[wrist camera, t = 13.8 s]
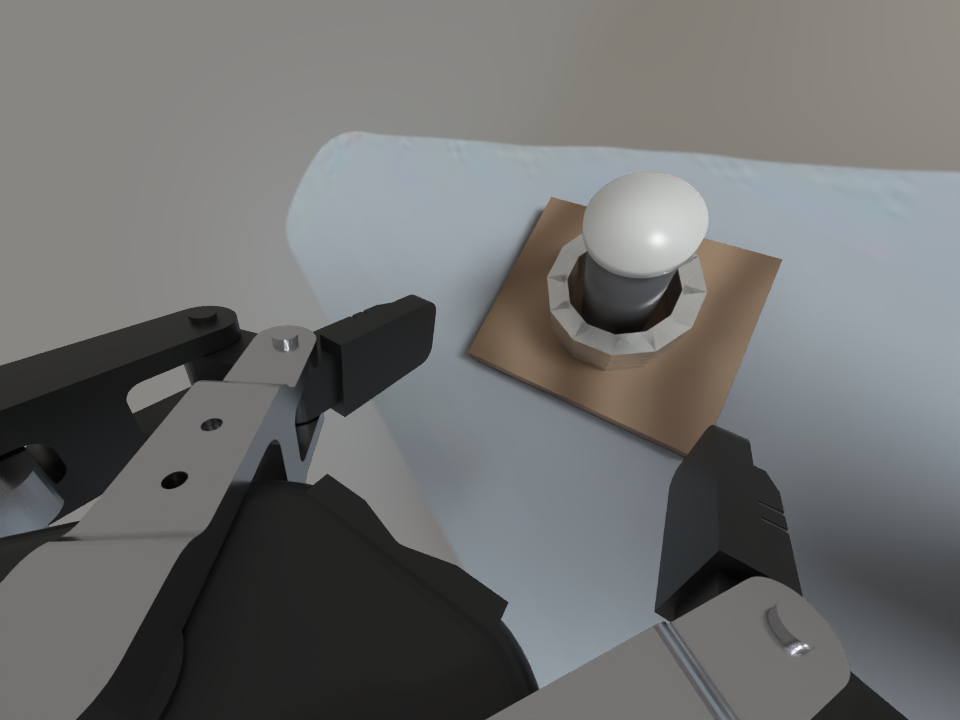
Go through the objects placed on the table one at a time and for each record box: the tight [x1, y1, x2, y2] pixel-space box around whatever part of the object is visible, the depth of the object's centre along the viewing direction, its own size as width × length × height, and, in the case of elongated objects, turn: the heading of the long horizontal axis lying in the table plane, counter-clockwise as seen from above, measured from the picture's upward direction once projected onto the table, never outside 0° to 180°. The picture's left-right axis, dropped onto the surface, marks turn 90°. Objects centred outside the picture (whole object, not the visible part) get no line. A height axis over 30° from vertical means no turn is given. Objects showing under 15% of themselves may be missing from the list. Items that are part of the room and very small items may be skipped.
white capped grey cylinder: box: [581, 172, 708, 335], centre depth 20 cm, size 5×5×10 cm
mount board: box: [468, 197, 782, 457], centre depth 25 cm, size 16×14×2 cm
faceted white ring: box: [547, 233, 707, 371], centre depth 23 cm, size 9×9×4 cm
